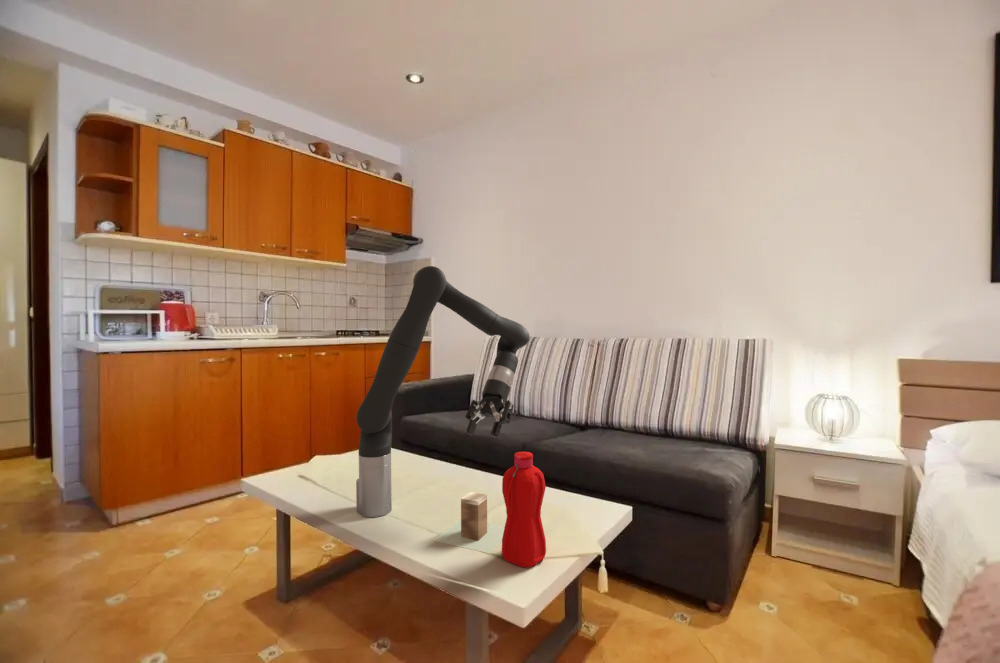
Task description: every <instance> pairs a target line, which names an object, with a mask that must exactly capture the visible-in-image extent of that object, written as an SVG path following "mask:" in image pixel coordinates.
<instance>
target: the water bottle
mask: <svg viewBox="0 0 1000 663" xmlns="http://www.w3.org/2000/svg"><path fill="white" fill-rule="evenodd" d="M513 457H514V459H513V460H514V465H513V466H511V467H510V468H508V469H507V470H506V471H505V472H504V474H503V477H502V484H501V489H502V490H501V493H502V495H503V500H504V505H505V511H506V520H505V523H504V527H505V528H504V533H503V538H502V542H501V554H502V558H503V560H504V561H506V562H507V563H510V564H513V565H515V566H517V567H520V568H531V567H534V566H536V565H537V564H538V563H539V562H541V561H544V559H545V557H546V554H547V543H546V542H547V540H546V535H545V531H544V526H543V525H544V524H543V522H542V517H541V514H542V505H543V502H544V498H545V497H544V496H545V493H546V487H547V486H546V480H545V477H544V473H543V472H542V471H541V470H540V468H538V467H536V466H535V465H534V462H533V461H534V460H533V459H534V455H533V453H532V452H529V451H518V452H515V453H514V456H513Z"/></svg>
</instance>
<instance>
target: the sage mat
mask: <svg viewBox="0 0 1000 663" xmlns="http://www.w3.org/2000/svg"><path fill="white" fill-rule="evenodd" d="M504 528H505V526H504V527H503V526H499V525H494V524H490V523H487V533H486V534H485V535H484V536H483V537H482V538H481V539H480V540H479V541H477V540H473V539H468V538H463V537H461V518H460V519H459V520H457V521H455V523H453V524H452V525H451V526H450V527H448V528H447V529H446V530H445V531H444V532H442V533H440V534H439V535H438V536H437V537H436V538H435V539H433V542H436V543H437V542H438V543H441V544H447V545H452V546H453V547H454V546H455V547H459V548H464V549H469V550H473V551H477V552H482V553H485V554H490V555H491V554H492V553H493V551H494V550H495V549H496V548H497V547H498V546H499V545H500V544H502V538H503V533H504ZM493 548H494V550H493Z"/></svg>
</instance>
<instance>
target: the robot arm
mask: <svg viewBox="0 0 1000 663" xmlns="http://www.w3.org/2000/svg"><path fill="white" fill-rule="evenodd" d="M412 282H413V283H412V285H413V286H412V290H411V293H410V295H409V299H408V301H407V304H406V307H405V308H404V310H403V312H402V314H401V315H400V317H399V319H398V320H397V322H396V323H395V326H394V327H393V329H392V331H391V333H390V335H389V337H388V339H387V342H386V344H385V347H384V349H383V352H382V354H381V357H380V359H379V363H378V366H377V370H376V372H375V376H374V379H373V381H372V384H371V386H370V388H369V390H368V391H367V394H366V396H365V397H364V399H363V401H362V402H361V404H360V406H359V407H358V409H357V412H356V423H357V425H358V427H359V429H360V436H359V443H358V478H357V479H356V481H355V482H356V483H355V484H356V485H355V487H356V488H355V491H356V494H355V496H356V513H359V515H361V516H362V517H367V518H377V517H382V516H385V515H387V514H389V513H391V512H392V509H393V508H392V500H393V499H392V494H393V493H392V441H393V412H392V411H393V410H392V408H393V404H394V401H395V399H396V398H395V397H396V396H397V393H398V391H399V389H400V386H401V385H402V383H403V381H404V380H405V379H406V377H407V375H408V373H410V371H411V367H412V366H413V364H414V362H415V359H416V357H417V355H418V352H419V350H420V348H421V344H422V343H423V340H424V336H425V333H426V330H427V326H428V324H429V321H430V318H431V315H432V313H433V311H434V309H435V307H436V305H437V304H438V303H439V304H440V305H443V306H444V307H446V308H448V309H449V310H450V311H452V312H455V314H457V315H458V316H460V317H461V318H462V319H464V320H465V321H467V322H468V323H469V324H471V325H472V326H473V327H475V328H477V329H478V330H479V331H481V332H483V333H484V334H486V335H488V336H490V337H493V336H500V337H499V339H498V340H497V347H496V356H495V358H494V361H493V364H492V366H491V370H490V371H489V373H488V377H487V379H486V382H485V384H484V387H483V389H482V392H481V395H482V396H481V397H482V398H481V399H480V400H479V401H477V400H475V399H472V400H471V403H470V405H469V408H468V409H467V412H466V414H465V419H467V420H468V425H467V428H466V434H467V435H469V436H470V437H473V436H474V434H475V431H476V429H477V425H478V423H479V422H480V421H481V420H484V419H485V418H490V417H491V418H494V419H495V421H494V423H493V426H492V429H491V432H490V435H491V437H493V438H498V436H499V435H500V433H501V430H502V426H504V424H510V422H511V418H512V415H513V410H514V404H513V403H512V402H511V401H510V400H508V398H509V395H510V392H511V389H512V386H513V383H514V378H515V374H516V371H517V369H518V368H517V367H518V363H519V358H518V356H517V352H518V350H520V349H522V348H523V347H525V346H527V345H528V343H529V342H530V333H529V331H528V330H527V328H526V327H525V326H524V325H522V324H521V323H519V322H517V321H514V320H511V319H509V318H507V317H504V316H501V315H500V314H498V313H497V312H495V311H493V309H490V308H489V307H488V306H486V305H485V304H483V303H482V302H479V301H478V300H476V299H474V298H472V297H470V296H468V295H466V294H464V293H463V292H462V291H460V290H458V289H457V288H456V287H454V286H453V285H452V284H451V283H450V282H449V281H447V278H446V275H445V274H444V272H443V270H442V269H440V268H439V267H437V266H433V265H428V266H424V267H422V268H420V269H419V270H418V271H417V272H416V273H415V275H414V276H413V281H412ZM502 410H503V412H502Z"/></svg>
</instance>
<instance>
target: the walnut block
mask: <svg viewBox="0 0 1000 663" xmlns="http://www.w3.org/2000/svg"><path fill="white" fill-rule="evenodd" d="M460 519H461V537H463V538H468V539H473V540H477V541H479V540H480V539H481V538H482V537H483V536H484V535H485V534H486V533H487V524H488V494H485V493H479V492H473V491H470V492H468V493H467V494H465V495H464V496H462V497H461V498H460Z"/></svg>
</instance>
